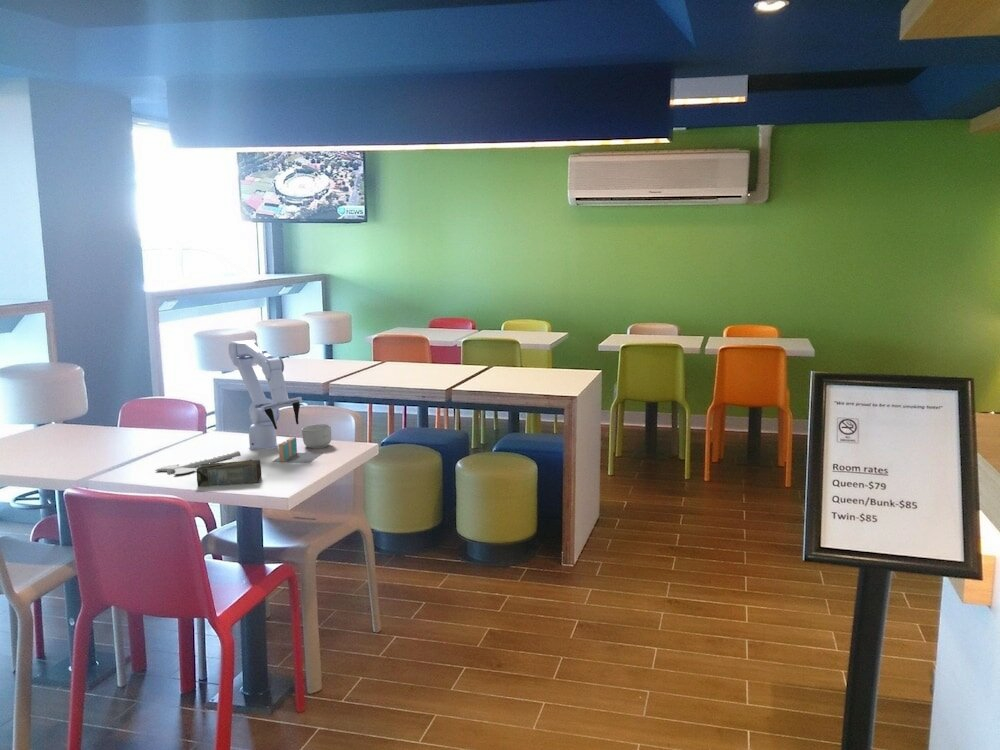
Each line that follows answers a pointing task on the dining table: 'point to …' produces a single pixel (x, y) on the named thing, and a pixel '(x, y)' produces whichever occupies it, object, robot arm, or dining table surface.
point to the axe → (195, 464)
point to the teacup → (317, 435)
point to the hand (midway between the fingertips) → (286, 426)
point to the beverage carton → (228, 473)
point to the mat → (301, 458)
